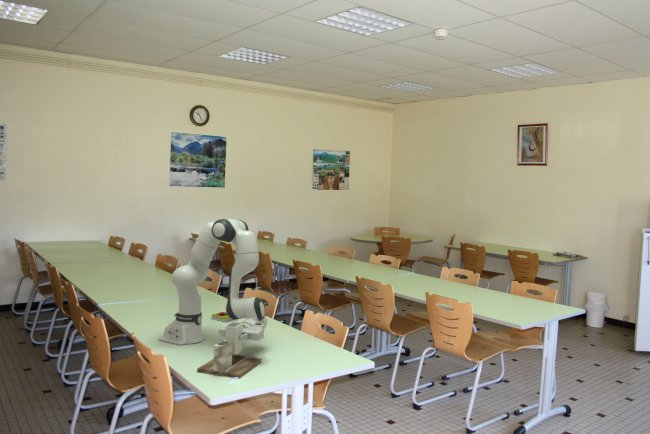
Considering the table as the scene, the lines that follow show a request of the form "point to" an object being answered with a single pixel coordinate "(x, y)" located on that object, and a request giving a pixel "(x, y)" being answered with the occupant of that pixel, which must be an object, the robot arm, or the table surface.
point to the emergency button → (222, 317)
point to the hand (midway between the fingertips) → (233, 337)
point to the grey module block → (234, 336)
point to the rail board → (235, 370)
